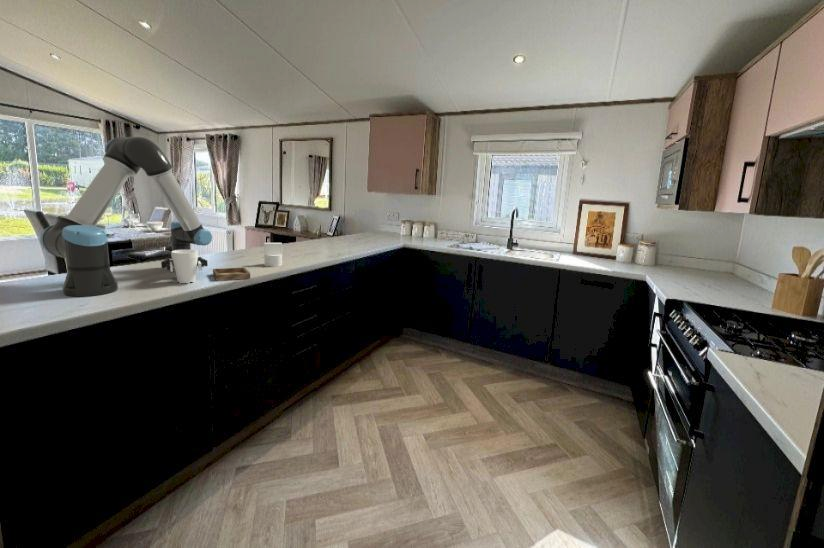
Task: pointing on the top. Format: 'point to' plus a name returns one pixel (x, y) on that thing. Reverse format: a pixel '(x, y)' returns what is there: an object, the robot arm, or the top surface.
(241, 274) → the walnut frame
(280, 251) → the glass of milk
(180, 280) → the foam cup
